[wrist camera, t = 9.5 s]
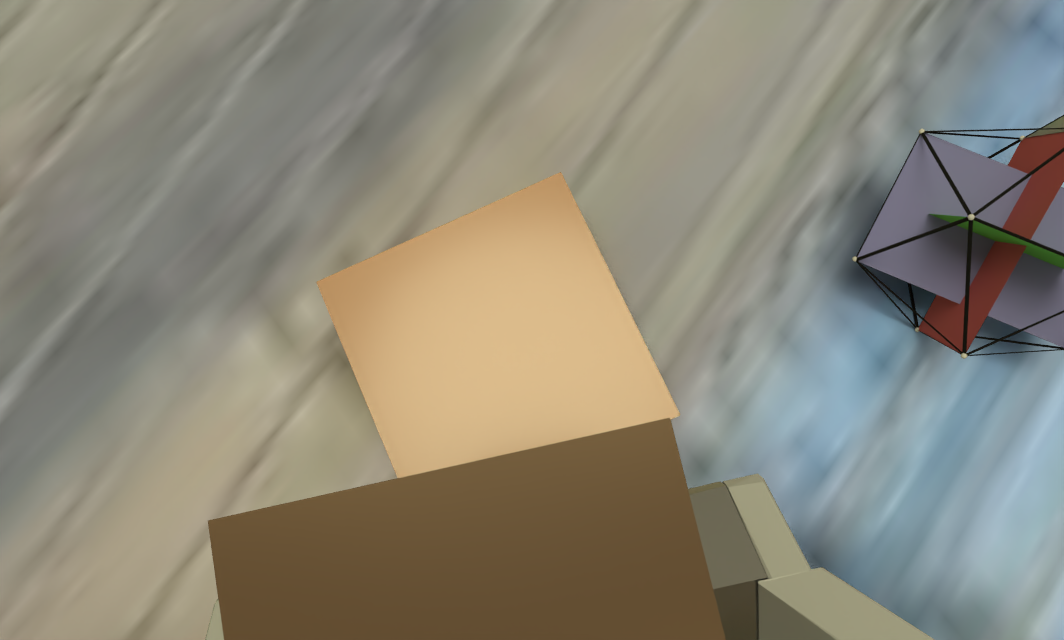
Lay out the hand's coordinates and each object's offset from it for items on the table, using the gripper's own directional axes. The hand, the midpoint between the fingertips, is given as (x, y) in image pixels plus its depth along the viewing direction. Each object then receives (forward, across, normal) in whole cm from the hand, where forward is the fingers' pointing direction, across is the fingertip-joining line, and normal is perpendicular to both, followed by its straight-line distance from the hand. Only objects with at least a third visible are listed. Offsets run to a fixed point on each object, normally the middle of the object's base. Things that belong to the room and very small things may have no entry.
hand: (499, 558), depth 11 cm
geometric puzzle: (+13, -15, +7) cm, 21 cm away
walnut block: (+3, 0, +4) cm, 5 cm away
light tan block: (+14, 0, +7) cm, 15 cm away
